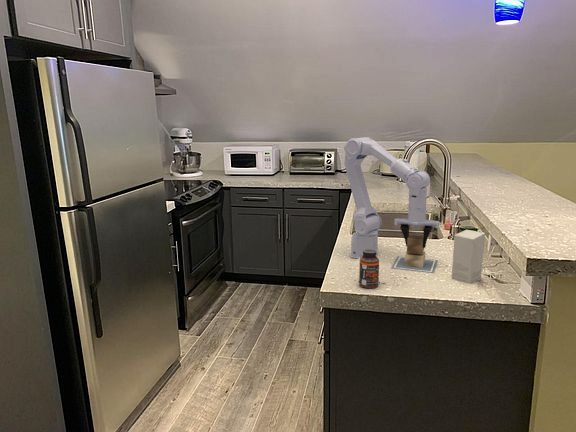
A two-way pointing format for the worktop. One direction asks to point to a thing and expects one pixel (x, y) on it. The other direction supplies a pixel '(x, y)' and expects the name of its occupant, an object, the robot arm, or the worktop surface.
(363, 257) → the supplement bottle
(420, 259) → the maple base block
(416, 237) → the walnut cube
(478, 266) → the skincare box
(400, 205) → the worktop surface
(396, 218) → the robot arm
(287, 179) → the worktop surface
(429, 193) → the mug
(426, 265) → the board
